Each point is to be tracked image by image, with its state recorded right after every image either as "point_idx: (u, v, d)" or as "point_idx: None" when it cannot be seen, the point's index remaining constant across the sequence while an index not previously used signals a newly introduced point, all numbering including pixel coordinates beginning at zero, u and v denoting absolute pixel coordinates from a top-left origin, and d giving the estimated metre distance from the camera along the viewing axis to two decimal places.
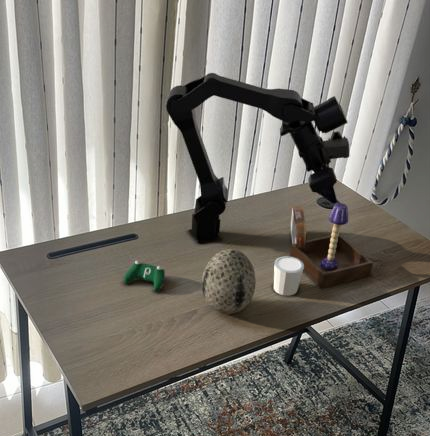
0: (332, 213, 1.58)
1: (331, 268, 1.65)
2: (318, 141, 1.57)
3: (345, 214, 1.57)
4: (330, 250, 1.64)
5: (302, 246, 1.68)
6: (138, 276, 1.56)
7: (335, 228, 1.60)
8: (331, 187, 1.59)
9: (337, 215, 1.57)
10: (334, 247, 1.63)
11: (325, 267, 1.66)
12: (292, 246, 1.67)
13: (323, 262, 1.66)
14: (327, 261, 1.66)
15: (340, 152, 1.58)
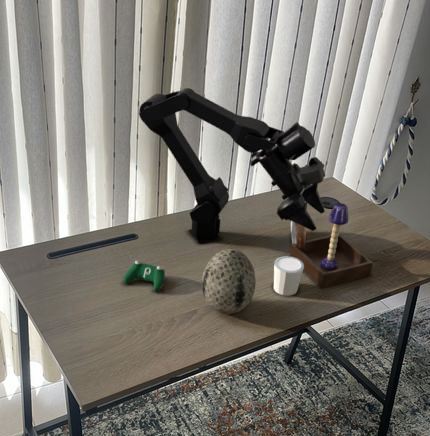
0: (332, 213, 1.58)
1: (331, 268, 1.65)
2: (288, 168, 1.55)
3: (345, 214, 1.57)
4: (330, 250, 1.64)
5: (302, 246, 1.68)
6: (138, 276, 1.56)
7: (335, 228, 1.60)
8: (303, 214, 1.55)
9: (337, 215, 1.57)
10: (334, 247, 1.63)
11: (325, 267, 1.66)
12: (292, 246, 1.67)
13: (323, 262, 1.66)
14: (327, 261, 1.66)
15: (310, 178, 1.54)
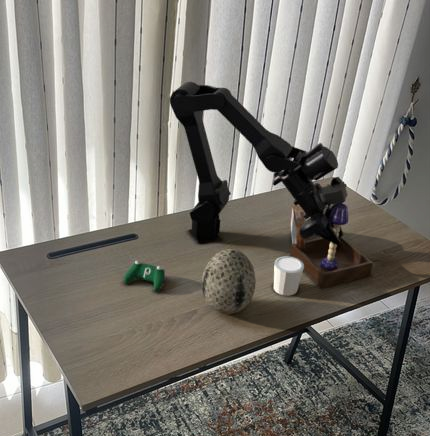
0: (332, 213, 1.58)
1: (331, 268, 1.65)
2: (311, 188, 1.56)
3: (345, 214, 1.57)
4: (330, 250, 1.64)
5: (302, 246, 1.68)
6: (138, 276, 1.56)
7: (335, 228, 1.60)
8: (328, 228, 1.58)
9: (337, 215, 1.57)
10: (334, 247, 1.63)
11: (325, 267, 1.66)
12: (292, 246, 1.67)
13: (323, 262, 1.66)
14: (327, 261, 1.65)
15: (333, 198, 1.54)
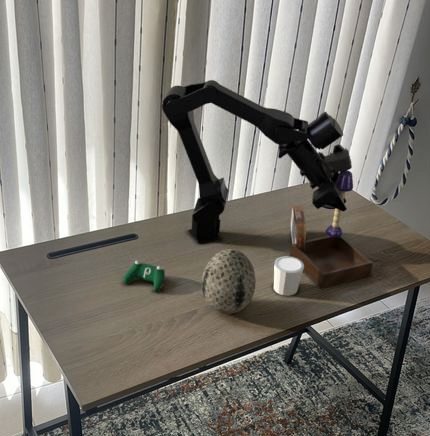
0: (338, 181, 1.60)
1: (337, 236, 1.68)
2: (317, 158, 1.57)
3: (351, 180, 1.60)
4: (335, 218, 1.66)
5: (302, 246, 1.68)
6: (138, 276, 1.56)
7: (341, 195, 1.63)
8: None
9: (343, 182, 1.60)
10: (339, 214, 1.66)
11: (331, 235, 1.68)
12: (292, 246, 1.67)
13: (329, 230, 1.68)
14: (333, 229, 1.68)
15: (341, 165, 1.57)
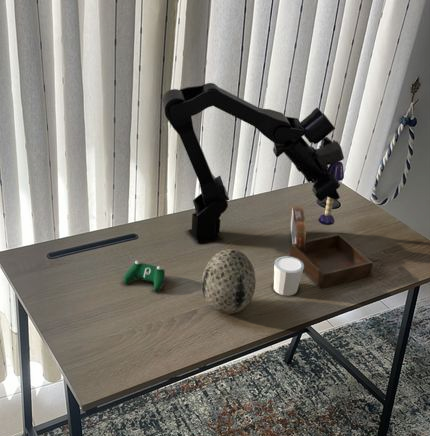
0: (331, 171, 1.68)
1: (331, 223, 1.76)
2: (312, 152, 1.64)
3: (343, 170, 1.69)
4: (328, 206, 1.75)
5: (302, 246, 1.68)
6: (138, 276, 1.56)
7: None
8: None
9: (337, 172, 1.68)
10: (332, 203, 1.74)
11: (326, 223, 1.76)
12: (292, 246, 1.67)
13: (322, 219, 1.76)
14: (326, 217, 1.76)
15: (335, 157, 1.65)
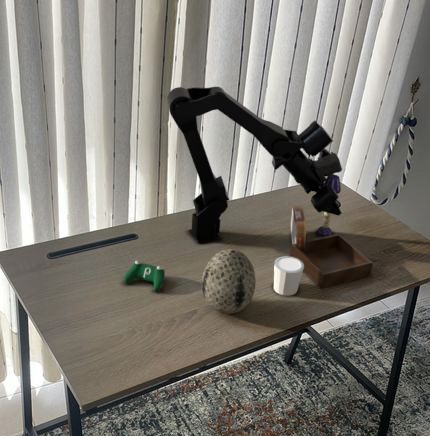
0: (328, 185, 1.71)
1: (329, 235, 1.79)
2: (310, 164, 1.66)
3: (339, 183, 1.71)
4: (326, 219, 1.77)
5: (302, 246, 1.68)
6: (138, 276, 1.56)
7: None
8: (333, 202, 1.68)
9: (333, 186, 1.70)
10: (329, 215, 1.77)
11: (324, 236, 1.78)
12: (292, 246, 1.67)
13: (320, 232, 1.79)
14: (324, 230, 1.78)
15: (333, 168, 1.67)
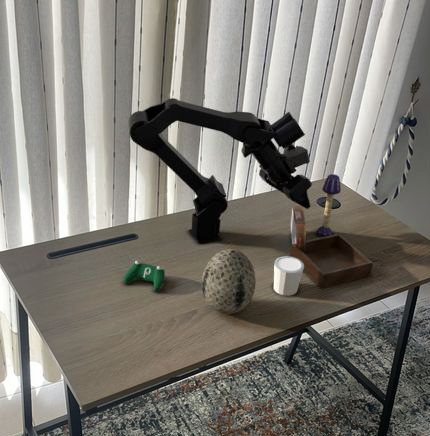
0: (328, 185, 1.71)
1: (329, 235, 1.79)
2: (280, 154, 1.64)
3: (339, 183, 1.71)
4: (326, 219, 1.77)
5: (302, 246, 1.68)
6: (138, 276, 1.56)
7: (330, 198, 1.73)
8: (305, 192, 1.66)
9: (333, 186, 1.70)
10: (329, 215, 1.77)
11: (324, 236, 1.78)
12: (292, 246, 1.67)
13: (320, 232, 1.79)
14: (324, 230, 1.78)
15: (302, 159, 1.66)
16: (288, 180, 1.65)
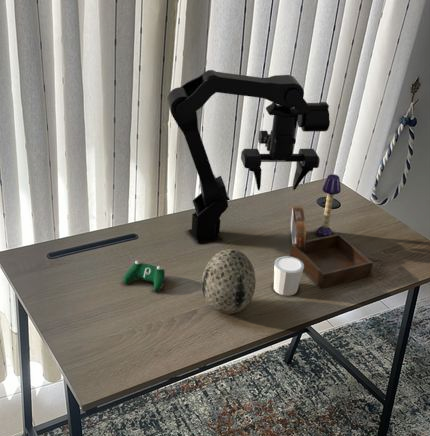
0: (328, 185, 1.71)
1: (329, 235, 1.79)
2: None
3: (339, 183, 1.71)
4: (326, 219, 1.77)
5: (302, 246, 1.68)
6: (138, 276, 1.56)
7: (330, 198, 1.73)
8: None
9: (333, 186, 1.70)
10: (329, 215, 1.77)
11: (324, 236, 1.78)
12: (292, 246, 1.67)
13: (320, 232, 1.79)
14: (324, 230, 1.78)
15: None
16: (295, 154, 1.66)
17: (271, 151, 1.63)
